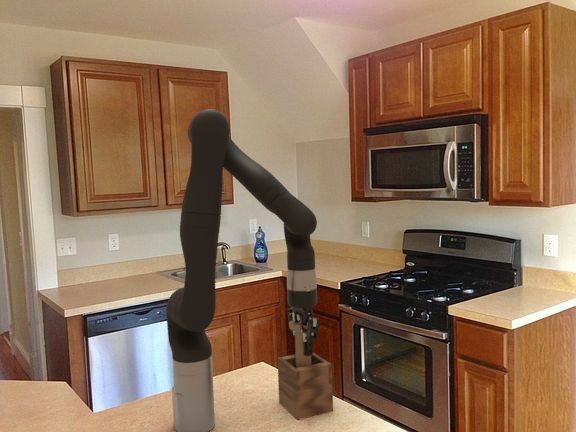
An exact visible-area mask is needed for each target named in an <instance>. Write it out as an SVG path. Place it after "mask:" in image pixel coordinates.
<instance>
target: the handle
mask: <svg viewBox="0 0 576 432" xmlns="http://www.w3.org/2000/svg"><path fill="white" fill-rule="evenodd" d="M303 327H304V329H307V328H308V325H306V326H304V325H303ZM288 328H289V330H290V329H291V330H293V331H295V335H296V349H295V354H296V368H299V367H304V366H309V365H311V356H305V355H304V345H303V341H304V340H303V334H302V333H301V332H300V325H299V323H298V322H293V321H290V322H289V321H288ZM293 331H292V332H293ZM295 335H294V336H295ZM306 335H307V332H306Z"/></svg>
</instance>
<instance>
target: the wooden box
mask: <svg viewBox="0 0 576 432" xmlns="http://www.w3.org/2000/svg"><path fill="white" fill-rule="evenodd" d="M277 376H278V377H277V379H278V381H277V382H278V383H277V384H278V403H279V404H280V405H281V406H282V407H283V408H284V409H285V410H287V412H289V413H290V414H291V415H292V416H293V417H294V418H295V419H296V420H301V419H306V418H310V417H315V416H317V415H321V414H326V413H329V412H333V411H334V397H333V396H334V395H333V394H334V393H333V391H334V390H333V388H334V387H333V364H332V363H331V362H329V361H328V360H326V359H324V358H322V357H321V356H320V355H318V354H317V353H315V352H313V354H312V355H311V365H309V366H304V367H299V368H296V353H294V354H291V355H286V356H281V357H280V356H279V357H277Z"/></svg>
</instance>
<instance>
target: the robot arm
mask: <svg viewBox="0 0 576 432" xmlns="http://www.w3.org/2000/svg"><path fill="white" fill-rule="evenodd" d="M187 136H188V137H187V138H188V140H189V142H190V144H191V155H190V156H191V157H190V159H191V160H190V170H189V175H188V178H187V181H186V182H187V183H186V186H185V188H184V189H185V191H184V195H183V199H182V205H181V210H180V211H181V213H180V220H179V221H180V222H179V240H180V243H181V244H180V245H181V249H182V255H183V258H184V264H185V265H184V266H185V277H184V278H185V279H184V284H183V287H180V288H178V289H176V290H174V291H173V292H172V294H171V295H170V296H169V298H168V300H167V305H166V322H167V323H166V324H167V325H166V326H167V337H168V344H169V347H170V350H171V355H172V374H173V386H172V387H171V395H172V396H171V397H172V417H173V420H172V421H173V426H174V429H175V431H176V432H211V430H213V429H214V427H215V424H216V420H215V418H216V417H215V416H216V415H215V397H214V393H215V392H214V376H213V375H214V373H213V372H214V371H213V353H212V352H213V349H212V343H211V341H210V340H209V337H208V336H207V333H206V329H207V328H208V327H210V326H211V324H212V322H213V320H214V318H215V314H216V301H217V300H216V268H217V259H218V248H219V247H218V246H219V237H220V235H219V234H220V230H221V229H220V228H221V220H222V219H221V217H222V216H221V215H222V203H223V202H222V201H223V198H222V197H223V169H225V170H226V171H227V172H228V173H229V174H230V175H231V176H232V177H233V178H235V180H236V181H238V183H240V184H241V185H242V186H243V187H244V188H245V190H247V191H248V192H249V193H250V194H251V196H253V197H254V198H255V199H256V200H257V201H258V202H259V204H261V205H262V206H263V207H264V208H265V209H267V210H268V211H269V212H271V213H272V214H274V215H275V216H276V217H278V219H279V220H281V221H282V222H283V234H284V239H285V240H284V241H285V246H286V251H287V254H286V258H287V259H286V263H287V267H286V268H287V273H286V293H287V295H286V298H287V299H286V300H287V305H288V306H289V307H288V308H287V318H288V323H289V322H290V321H293V322H298V323H299V325H300V332H301V333H302V334H303V340H304V341H303V345H304V355H305V356H311V355H312V354H313V353H314V351H313V348H314V347H313V341H317V340H318V336H319V329H320V318H319V317H315V316H314V311H313V307H314V306H316V305H317V304H318V289H317V287H318V284H317V282H318V281H317V273H316V256H315V255H316V253H315V248H314V247H313V245H312V242H311V235H312V234H313V233H314V232H315V231H316V230H317V226H318V225H317V224H318V221H317V217H316V215H315V212H313V210H311V209H310V208H309V207H308V206H307V205H306V204H305V203H304V202H302V201H301V200H300V199H298V198H297V197H296V196H294V194H292V193H291V192H290V191H289V190H288V189H287V187H286V186H284V185H283V184H282V183H281V182H280V180H278V179H277V178H276V177H275V176H274V175H273V174H272V172H270V171H269V170H268V169H266V168H265V167H263V166H262V165H261V164H259V163H258V162H256V161H255V160H254V159H253V158H251V157H250V156H249V155H247V154H246V153H245V152H244V151H243V150H242V149H240V148H239V146H238V145H237V144H236V143H235V142H234V141H233V140H232V138H231V137H230V124H229V121H228V120H227V117H226V116H225V115H224V114H223V113H222V112H220V111H219V110H217V109H213V108H207V109H203V110H201V111H200V112H198V113H196V115H194V116H193V118H192V119H191V120H190V123H189V125H188V127H187ZM303 325H304V326H306V325H308V328H307V329H304V327H303ZM289 331H290V332H292V334H293V336H294V350H296V335H295V331H293V330H291V329H290V328H289ZM306 332H307V335H306Z"/></svg>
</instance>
